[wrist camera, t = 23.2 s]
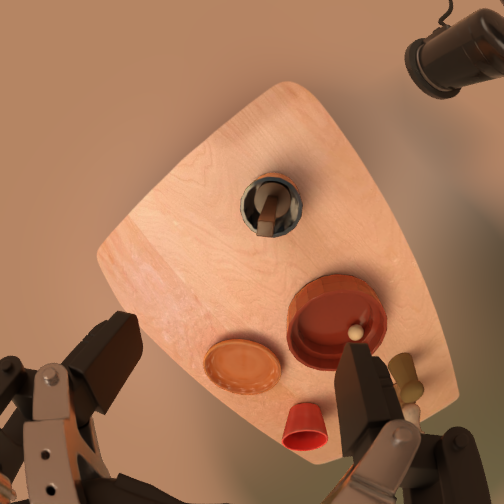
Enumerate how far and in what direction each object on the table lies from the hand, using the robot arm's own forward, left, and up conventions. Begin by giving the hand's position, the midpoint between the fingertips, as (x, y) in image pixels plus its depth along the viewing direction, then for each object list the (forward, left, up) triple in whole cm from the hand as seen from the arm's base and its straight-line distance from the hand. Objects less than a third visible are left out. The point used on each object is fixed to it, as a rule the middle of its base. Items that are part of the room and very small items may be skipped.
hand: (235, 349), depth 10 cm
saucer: (+34, -3, -34) cm, 48 cm away
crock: (0, 0, -34) cm, 34 cm away
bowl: (+20, +13, -34) cm, 42 cm away
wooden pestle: (0, 0, -34) cm, 34 cm away
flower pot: (+50, +13, -34) cm, 62 cm away
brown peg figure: (+32, +32, -34) cm, 57 cm away
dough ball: (+22, +18, -32) cm, 43 cm away
